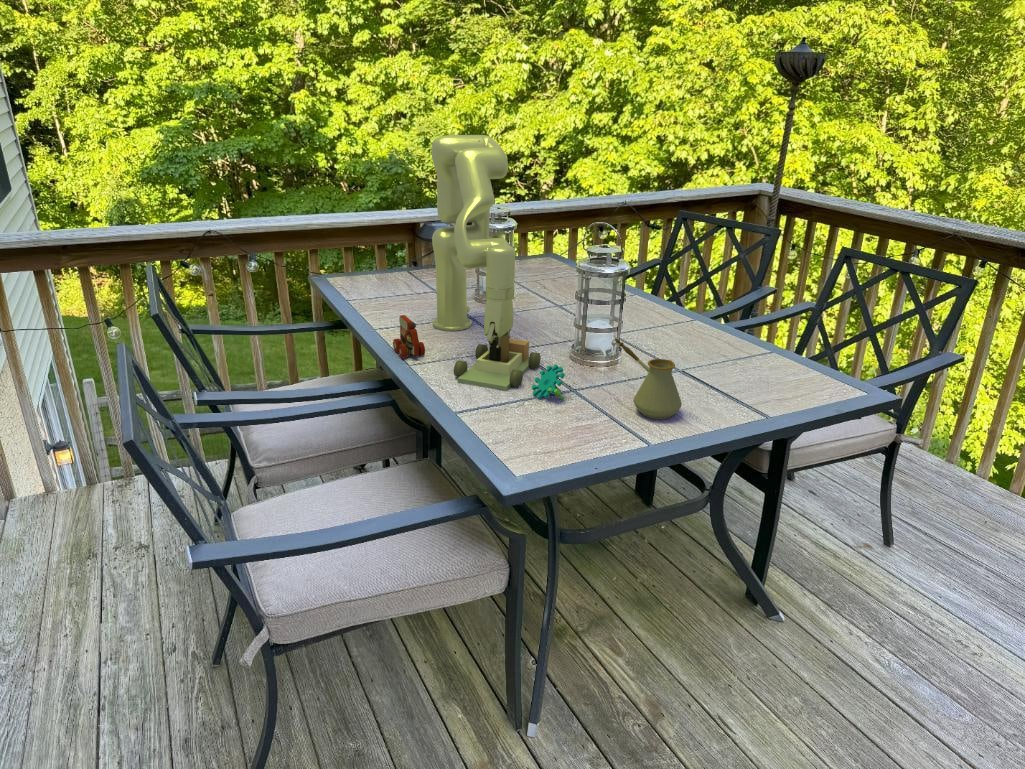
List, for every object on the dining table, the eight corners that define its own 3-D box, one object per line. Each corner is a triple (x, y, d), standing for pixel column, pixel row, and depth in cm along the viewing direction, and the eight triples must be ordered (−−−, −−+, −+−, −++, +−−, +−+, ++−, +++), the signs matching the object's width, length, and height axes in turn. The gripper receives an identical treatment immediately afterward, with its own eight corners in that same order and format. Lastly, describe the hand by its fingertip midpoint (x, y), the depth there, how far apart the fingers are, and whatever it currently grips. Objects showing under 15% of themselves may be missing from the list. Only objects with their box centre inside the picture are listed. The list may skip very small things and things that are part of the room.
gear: (525, 382, 190) (553, 356, 188) (539, 394, 193) (567, 369, 192) (538, 405, 181) (568, 377, 179) (553, 417, 184) (582, 390, 183)
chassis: (484, 354, 213) (484, 334, 211) (542, 363, 207) (543, 342, 205) (450, 381, 194) (450, 359, 192) (514, 392, 188) (514, 369, 186)
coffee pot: (690, 414, 178) (697, 356, 172) (659, 427, 171) (665, 367, 165) (625, 386, 193) (629, 332, 187) (594, 397, 186) (597, 342, 180)
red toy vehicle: (404, 362, 206) (403, 327, 202) (391, 348, 216) (389, 315, 212) (428, 359, 209) (427, 324, 205) (413, 345, 219) (412, 312, 215)
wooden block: (501, 357, 203) (502, 330, 200) (509, 362, 200) (509, 334, 197) (489, 360, 201) (489, 332, 198) (496, 364, 198) (497, 336, 195)
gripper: (499, 282, 202) (498, 344, 209) (473, 299, 187) (473, 365, 194) (524, 285, 199) (523, 348, 206) (500, 303, 184) (500, 369, 192)
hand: (499, 355), depth 200 cm, fingers closed on wooden block, 5 cm apart
